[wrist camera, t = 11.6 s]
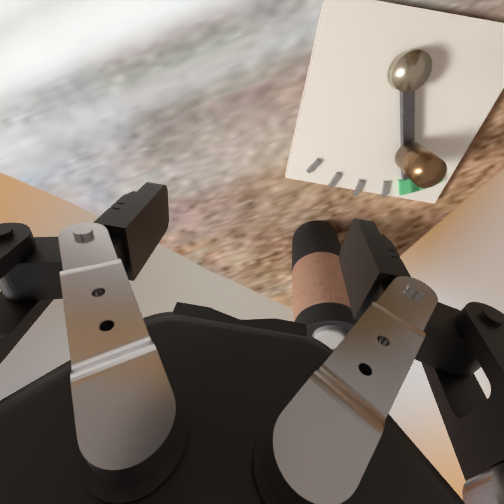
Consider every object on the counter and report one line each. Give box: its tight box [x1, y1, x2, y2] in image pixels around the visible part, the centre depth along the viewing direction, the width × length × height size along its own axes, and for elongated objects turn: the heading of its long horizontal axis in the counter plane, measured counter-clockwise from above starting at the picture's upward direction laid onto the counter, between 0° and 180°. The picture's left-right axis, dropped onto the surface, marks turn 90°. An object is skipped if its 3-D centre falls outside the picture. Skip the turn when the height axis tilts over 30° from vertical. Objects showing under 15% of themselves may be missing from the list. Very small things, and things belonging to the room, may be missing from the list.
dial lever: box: [387, 50, 447, 188], centre depth 29 cm, size 14×4×7 cm, turn 18°
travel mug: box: [292, 221, 358, 351], centre depth 37 cm, size 8×8×20 cm
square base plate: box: [285, 0, 504, 204], centre depth 33 cm, size 20×21×2 cm
